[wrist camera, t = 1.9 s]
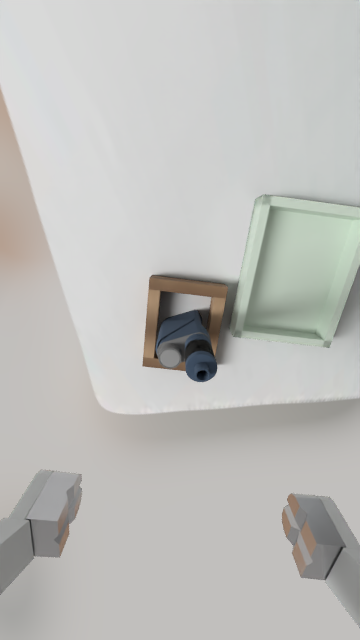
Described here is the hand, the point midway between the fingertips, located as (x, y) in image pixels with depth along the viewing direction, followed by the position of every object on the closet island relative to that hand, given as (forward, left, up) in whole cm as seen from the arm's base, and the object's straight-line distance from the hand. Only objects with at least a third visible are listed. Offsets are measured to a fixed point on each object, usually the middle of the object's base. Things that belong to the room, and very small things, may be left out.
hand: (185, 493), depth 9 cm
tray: (-7, +11, -20) cm, 24 cm away
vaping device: (0, 0, -20) cm, 20 cm away
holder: (0, 0, -20) cm, 20 cm away
